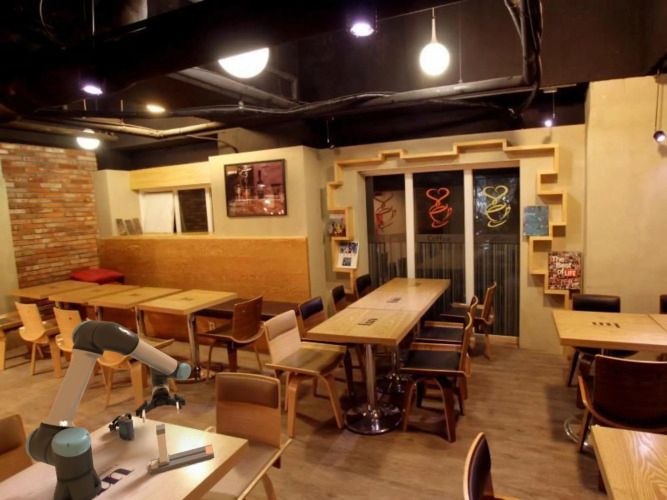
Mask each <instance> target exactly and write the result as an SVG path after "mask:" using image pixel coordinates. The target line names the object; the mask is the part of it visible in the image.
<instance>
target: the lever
mask: <svg viewBox="0 0 667 500" xmlns="http://www.w3.org/2000/svg"><path fill="white" fill-rule="evenodd" d="M155 431H156V432H155V433H156V439H157V441H156V442H157V449H158V458H159V466H162V465H166V464H170V462H169V455H170V454H168V446H167V434H166V424H165V423H161V424H157V425H155Z"/></svg>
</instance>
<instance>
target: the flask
mask: <svg viewBox="0 0 667 500" xmlns="http://www.w3.org/2000/svg"><path fill="white" fill-rule="evenodd" d="M126 417H127V416H124V415H122V417H119V418H118V425H119V427H118V433H119V438H120V439H121V440H124V441H129V442H130V441H133V440H135V428H134V423H133V422H134V421H133V419H132V420H131V419H126Z"/></svg>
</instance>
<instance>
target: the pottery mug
mask: <svg viewBox="0 0 667 500" xmlns="http://www.w3.org/2000/svg"><path fill="white" fill-rule="evenodd" d="M122 416H127V417H126V419H131V420H133V415H132V414H131V413H130V412H127V413H125V414H124V415H122V414H120V415H118V416H117V417H115V418H113V420H112V421H111V423H109V424H108V426H107V428H108V429H109V433H110V432H117V428H119V425H118V418H119V417H122Z"/></svg>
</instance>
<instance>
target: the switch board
mask: <svg viewBox="0 0 667 500" xmlns="http://www.w3.org/2000/svg"><path fill="white" fill-rule="evenodd" d="M213 458H215V453H214V449H213V445H212V443H211V444H208V445H207V444H206V445H204V446H200V447H196V448H192V449H189V450H188V449H187V450H183V451H181V452H177V453H173V454H169V462H170V464H166V465H162V466H159V457H158V458H153V459H151V460H150V475H155V474H158V473H162V472H166V471H170V470H173V469H177V468H180V467H184V466H187V465H188V466H189V465H191V464H195V463H198V462H203V461H205V460H210V459H213Z"/></svg>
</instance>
